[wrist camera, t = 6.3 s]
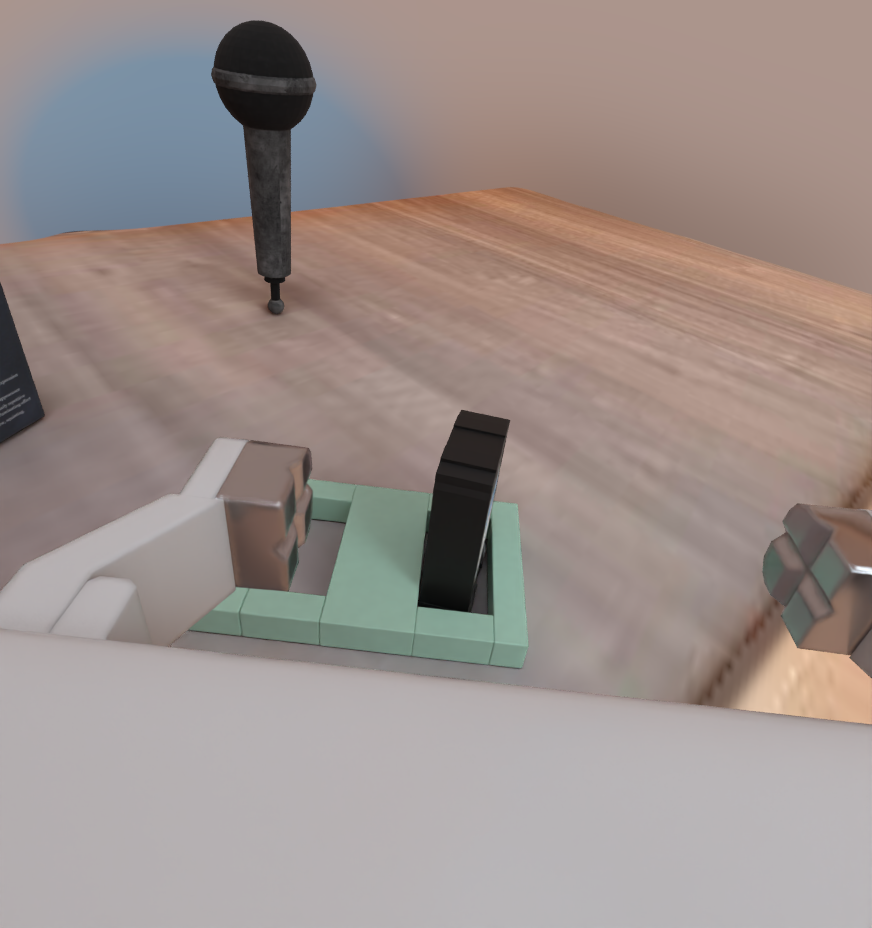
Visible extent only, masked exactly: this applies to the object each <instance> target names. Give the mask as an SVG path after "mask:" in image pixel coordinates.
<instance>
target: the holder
mask: <svg viewBox="0 0 872 928" xmlns="http://www.w3.org/2000/svg"><path fill="white" fill-rule="evenodd" d="M307 484H308V485H309V486H310V487H311V488H312V490H313V509H312V518H311V519H319V520H328V521H336V522H345V523H346V525H345V529H344V533H343V537H342V540H341V544H340V548H339V551H338V555H337V559H336V562H335V566H334V570H333V573H332V577H331V581H330V585H329V588H328V592H327V596H326V597H325V596H321V595H312V594H303V593H295V592H286V591H275V590H263V589H251V588H239V587H236V590H235V591H234V592H233V593H232V594H231V595H229V596H228V597H227V598H226V599H225V600H223V601H222V602H221V603H220V604H218V605H217V606H216V607H215V608H214V609H212V610H211V611H210V612H209V613H208V614H206V615H205V616H204V617H203V618H202V619H200V620H199V621H198V622H197V623H195V624H194V625H193V626H192V627H191V628H189V629H188V630H195V631H203V632H212V633H221V634H229V635H238V636H241V635H243V636H246V637H254V638H263V639H272V640H280V641H289V642H298V643H306V644H315V645H319V643H320V645H321V646H330V647H338V648H347V649H355V650H364V651H373V652H381V653H390V654H399V655H407V656H411V654H412V656H416V657H425V658H434V659H442V660H451V661H460V662H468V663H477V664H486V665H488V663H489V665H496V666H504V667H513V668H522V666H523V662H524V659H525V656H526V653H527V649H528V633H527V620H526V607H525V594H524V581H523V568H522V555H521V542H520V529H519V516H518V505H517V504H514V503H505V502H497V501H493V506H492V511H491V516H490V521H489V526H488V531H487V535H486V539H488V542H487V575H488V615H485V614H477V613H468V612H459V611H451V610H442V609H434V608H425V607H417V603H418V594H419V585H420V576H421V567H422V558H423V549H424V539H425V532H428V529H429V521H430V513H431V505H432V497H433V494H431V493H430V494H429V493H423V492H414V491H406V490H398V489H389V488H381V487H373V486H364V485H355V484H346V483H338V482H329V481H321V480H313V479H308V482H307Z"/></svg>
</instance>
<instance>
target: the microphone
mask: <svg viewBox="0 0 872 928" xmlns="http://www.w3.org/2000/svg"><path fill="white" fill-rule="evenodd" d="M211 76H212V79H213V81H214V83H215V84H216V88H217V91H218V93H219V96H220V98H221V100H222V102H223V104H224V105H225V107H226V108H227V110H228V111H229V112H230V113H231V115H232V116H233V117H234V118H235V119H236V120H237V121H239V122H240V123H241V124H242V125H243V129H244V138H245V149H246V158H247V168H248V178H249V189H250V199H251V209H252V219H253V229H254V239H255V249H256V259H257V269H258V273H259V274H260V275H262V276H265V278H264V280H265V281H266V282H268V283H271V299H270V300H269V302H268V308H269V310H270V311H271V312H272V313H275V314H278V313H281V312H282V311H283V309H284V303H283V301H282V300H281V299H280V286H279V283H283V282H284V281H285V277H286V276H289V275H290V274H291V129H292V128H293V127H294V126H296V125H297V124H298V123H299V122H300V121H301V120H302V119H303V118H304V116H305V115H306V113H307V111H308V109H309V107H310V105H311V101H312V97H313V93H314V92H315V89H316V82H315V79H314V78H313V73H312V70H311V66H310V63H309V60H308V58H307V56H306V54H305V52H304V50H303V49H302V47H301V46H300V44H299V43H298V41H297V40H296V39H295V38H294V37H293V36H292V35H291V34H289V33H288V32H287V31H286V30H284V29H283V28H282V27H279V26H277V25H275V24H273V23H270V22H265V21H248V22H244V23H241V24H239V25H237V26H235V27H233V28H232V29H231V30H230V31H229V32H228V33H227V34H226V35H225V36H224V38H223V39H222V41H221V42H220V44H219V47H218V49H217V51H216V55H215V61H214V67H213V68H212V73H211Z"/></svg>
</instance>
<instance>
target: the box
mask: <svg viewBox="0 0 872 928" xmlns="http://www.w3.org/2000/svg"><path fill="white" fill-rule="evenodd" d="M44 415H45V414H44V411H43V409H42V405H41V402H40V399H39V396H38V393H37V390H36V387H35V384H34V381H33V379H32V375H31V372H30V369H29V366H28V363H27V360H26V357H25V354H24V352H23V348H22V345H21V342H20V339H19V337H18V334H17V331H16V328H15V324H14V321H13V318H12V315H11V313H10V310H9V307H8V304H7V301H6V298H5V295H4V292H3V288H2V286H1V283H0V442H2V441H3V440H5V439H7V438H8V437H10V436H12V435H13V434H15V433H17V432H18V431H20V430H22V429H23V428H25V427H27V426H28V425H30V424H32V423H34V422H35V421H37V420H39V419H40V418H42V417H44Z"/></svg>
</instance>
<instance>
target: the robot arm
mask: <svg viewBox="0 0 872 928" xmlns="http://www.w3.org/2000/svg"><path fill="white" fill-rule="evenodd" d="M311 471H312V457H311V451H310V449H309V448H306V447H298V446H291V445H283V444H276V443H268V442H261V441H253V440H251V441H249V440H245V439H236V438H227V437H219V438H217V439H215V440H214V441H213V443H212V445H211V446H210V448H209V449H208V451H207V452H206V454H205V455H204V457H203V458H202V460H201V461H200V463H199V464H198V466H197V467H196V469H195V471H194V472H193V474H192V475H191V477H190V478H189V480H188V481H187V483H186V484H185V486H184V487H183V489H182V490H181V492H180V493H179V495H177V494H168V495H166V496H164V497H162V498H160V499H158V500H156V501H154V502H152V503H150V504H147V505H145V506H143V507H141V508H139V509H137V510H135V511H133V512H131V513H129V514H127V515H125V516H123V517H121V518H119V519H116V520H114V521H112V522H110V523H108V524H106V525H104V526H102V527H100V528H98V529H96V530H94V531H92V532H90V533H88V534H86V535H83V536H81V537H79V538H77V539H75V540H73V541H71V542H69V543H67V544H65V545H63V546H61V547H59V548H57V549H55V550H52V551H50V552H48V553H46V554H44V555H42V556H40V557H38V558H36V559H34V560H32V561H30V562H28V563H26V564H24V565H23V566H22V567H21V568H20V569H19V570H18V572H17V573H16V574H15V575H14V576H13V577H12V578H11V580H10V581H9V582H8V583H7V584H6V585H5V587H4V588H3V589H2V590H1V591H0V928H872V724H863V723H854V722H845V721H836V720H827V719H818V718H810V717H801V716H792V715H783V714H774V713H765V712H756V711H747V710H738V709H729V708H720V707H712V706H703V705H694V704H684V703H675V702H666V701H657V700H648V699H639V698H630V697H620V696H611V695H602V694H593V693H584V692H575V691H566V690H557V689H547V688H538V687H529V686H520V685H511V684H502V683H493V682H483V681H474V680H465V679H456V678H447V677H438V676H429V675H420V674H411V673H402V672H393V671H384V670H374V669H365V668H356V667H347V666H338V665H329V664H320V663H311V662H302V661H293V660H284V659H275V658H265V657H256V656H247V655H238V654H229V653H220V652H211V651H202V650H193V649H184V648H175V647H168V646H169V645H170V644H171V643H172V642H174V641H175V640H176V639H177V638H179V637H180V636H181V635H182V634H183V633H185V632H186V631H187V630H188V629H189V628H191V627H192V626H193V625H194V624H195V623H197V622H198V621H199V620H200V619H202V618H203V617H204V616H205V615H206V614H208V613H209V612H210V611H211V610H212V609H214V608H215V607H216V606H217V605H218V604H220V603H221V602H222V601H223V600H225V599H226V598H227V597H228V596H229V595H231V594H232V593H233V592H234V591H235V590H236V587H239V588H251V589H263V590H275V591H287V592H288V591H289V588H290V586H291V583H292V580H293V577H294V574H295V571H296V568H297V566H298V563H299V557H298V548H299V547H300V546H302V545H303V544H305V542H306V539H307V536H308V533H309V529H310V524H311V518H312V509H313V490H312V488H311V487H310V486H309V485H308V484H307V482H308V479H309V476H310V474H311ZM783 524H784V528H785V531H786V533H784V534H783V535H781V536H779V537H778V538H776V539H774V540H773V541H771V543H770V545H769V547H768V549H767V551H766V553H765V555H764V561H763V571H762V572H763V577H764V582H765V585H766V587H767V589H768V591H769V593H770V595H771V596H772V597H774V598H775V599H776V600H777V601H779V602H780V603H781V604H782V605H784V606H785V607H784V610H783V612H782V614H781V617H782V619H783V621H784V623H785V625H786V627H787V629H788V630H789V632H790V634H791V636H792V638H793V640H794V642H795V644H796V646H797V648H800V649H808V650H815V651H822V652H829V653H837V654H844V655H851V656H850V657H849V658H850V659H851V660H852V661H853V662H855V663H856V664H857V665H858V666H859V667H860V668H861V669H862V670H863V671H864V672H865V673H866V674H867V675H868V676H870V677H871V678H872V510H867V509H858V510H857V509H848V508H838V507H828V506H818V505H808V504H798V503H797V504H796V505H795V506H794V507H793V508H791V509H790V510H789V512H788V513H787V515H786V517H785V518H784V520H783Z"/></svg>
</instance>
